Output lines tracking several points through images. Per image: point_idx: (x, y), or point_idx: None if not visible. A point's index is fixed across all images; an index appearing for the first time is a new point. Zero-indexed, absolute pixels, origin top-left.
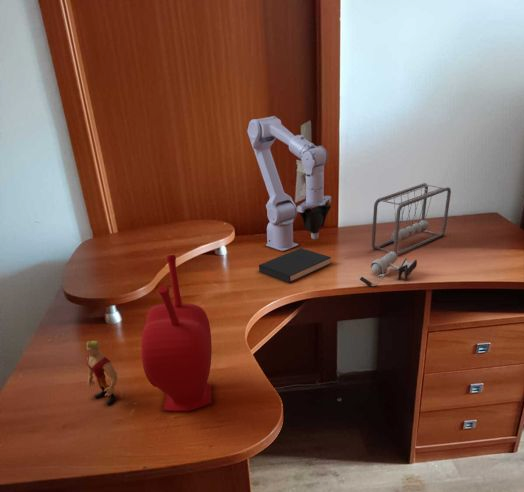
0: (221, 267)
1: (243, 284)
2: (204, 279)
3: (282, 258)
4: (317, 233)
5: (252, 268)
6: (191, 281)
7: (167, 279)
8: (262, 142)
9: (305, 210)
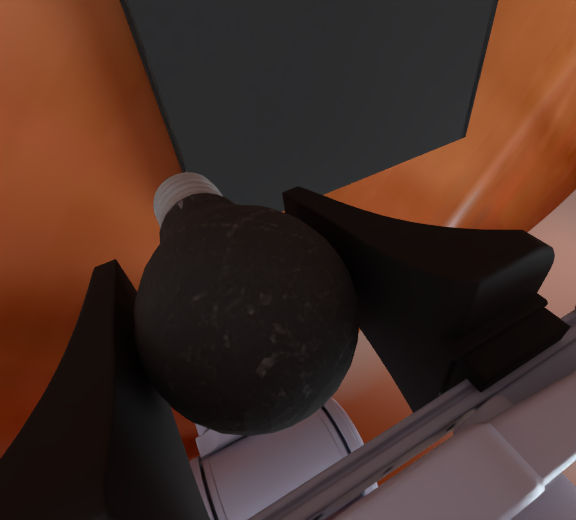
0: (457, 227)
1: (543, 47)
2: (535, 168)
3: (366, 148)
4: (191, 193)
5: (425, 173)
6: (551, 173)
7: (550, 212)
8: None
9: (560, 325)
